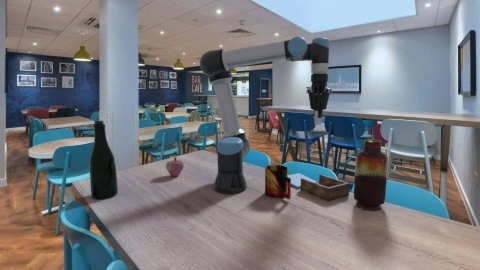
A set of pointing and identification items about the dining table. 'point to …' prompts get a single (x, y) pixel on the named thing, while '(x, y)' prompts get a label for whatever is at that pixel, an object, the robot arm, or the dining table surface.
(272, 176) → the mug
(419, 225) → the dining table surface
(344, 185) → the crate
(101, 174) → the beer bottle
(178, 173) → the apple
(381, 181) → the vase
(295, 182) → the pale blue square panel
